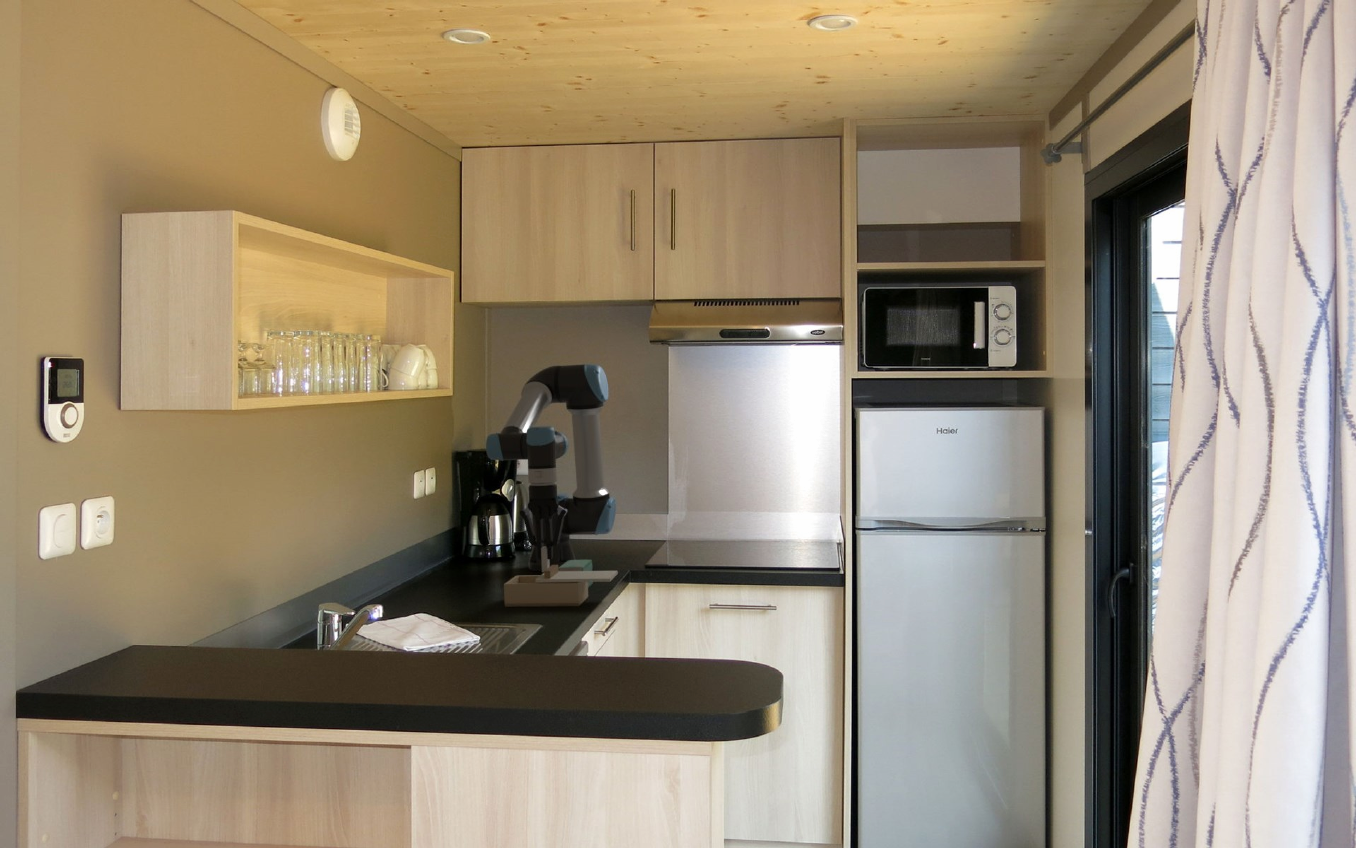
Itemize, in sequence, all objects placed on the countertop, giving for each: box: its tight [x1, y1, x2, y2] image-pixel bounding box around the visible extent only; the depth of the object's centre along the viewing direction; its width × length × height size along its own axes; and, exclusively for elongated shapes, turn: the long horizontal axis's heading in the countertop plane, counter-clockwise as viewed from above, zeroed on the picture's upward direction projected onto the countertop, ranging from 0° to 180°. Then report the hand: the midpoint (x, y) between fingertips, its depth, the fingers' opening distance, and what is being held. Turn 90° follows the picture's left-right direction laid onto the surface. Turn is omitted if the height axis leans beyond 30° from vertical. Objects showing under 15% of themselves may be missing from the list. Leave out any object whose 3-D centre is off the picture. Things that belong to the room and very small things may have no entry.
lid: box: [535, 565, 619, 583], centre depth 273 cm, size 11×20×3 cm, turn 83°
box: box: [558, 559, 594, 589], centre depth 291 cm, size 7×14×8 cm, turn 173°
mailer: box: [503, 574, 589, 608], centre depth 274 cm, size 12×20×6 cm, turn 83°
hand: (545, 571), depth 274 cm, fingers closed
